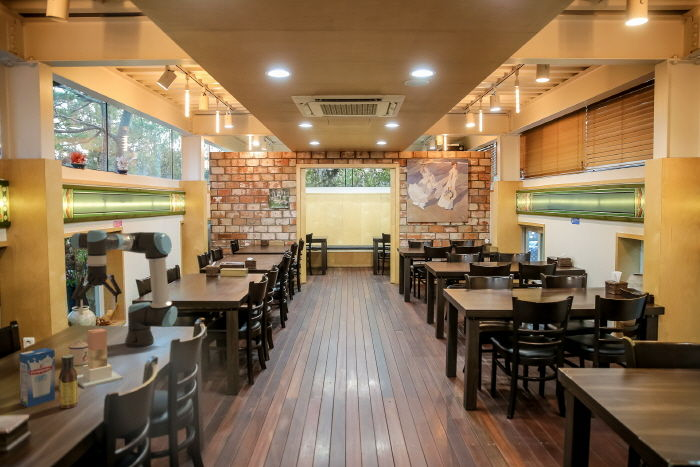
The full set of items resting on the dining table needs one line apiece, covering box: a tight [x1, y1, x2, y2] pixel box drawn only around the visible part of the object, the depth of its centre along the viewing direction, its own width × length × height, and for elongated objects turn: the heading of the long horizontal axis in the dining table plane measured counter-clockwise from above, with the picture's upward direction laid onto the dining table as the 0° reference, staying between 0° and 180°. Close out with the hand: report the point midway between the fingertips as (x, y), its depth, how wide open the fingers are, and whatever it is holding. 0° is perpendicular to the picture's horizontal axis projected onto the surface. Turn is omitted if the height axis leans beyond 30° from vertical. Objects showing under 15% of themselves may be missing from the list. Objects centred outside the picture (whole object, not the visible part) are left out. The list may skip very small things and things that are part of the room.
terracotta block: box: [86, 328, 108, 351], centre depth 217 cm, size 6×6×8 cm
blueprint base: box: [77, 362, 124, 389], centre depth 217 cm, size 16×16×6 cm
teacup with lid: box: [68, 339, 88, 367], centre depth 240 cm, size 12×9×12 cm
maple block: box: [87, 348, 108, 369], centre depth 217 cm, size 6×6×8 cm
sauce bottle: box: [58, 354, 79, 409], centre depth 187 cm, size 7×6×20 cm
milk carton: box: [19, 347, 56, 408], centre depth 191 cm, size 10×6×20 cm, turn 148°
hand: (97, 312), depth 216 cm, fingers open, 13 cm apart
